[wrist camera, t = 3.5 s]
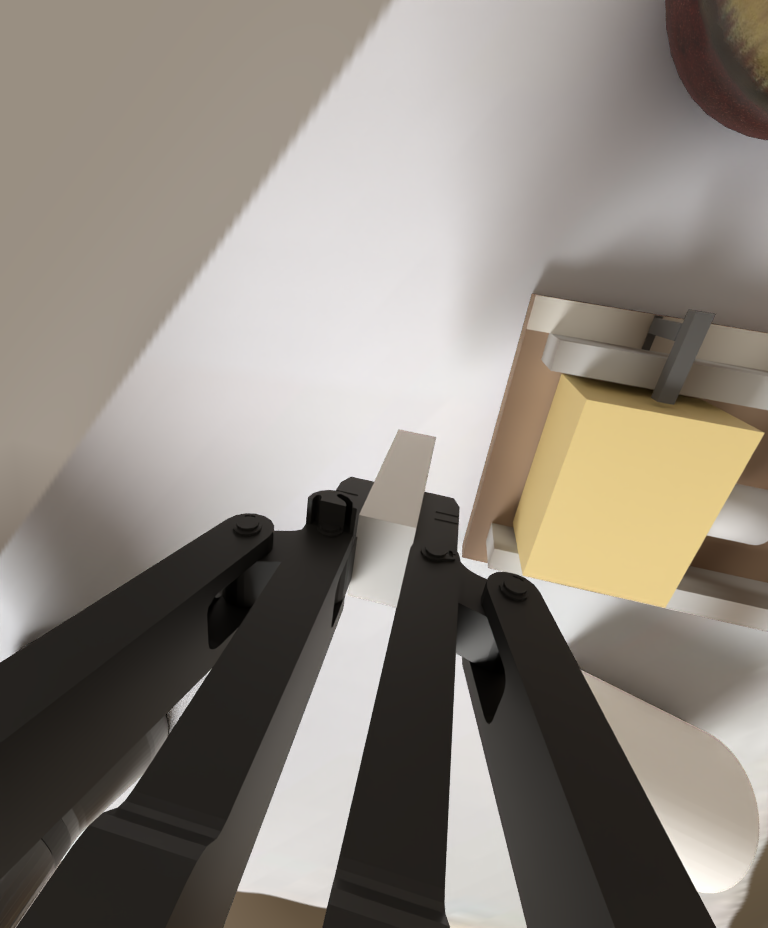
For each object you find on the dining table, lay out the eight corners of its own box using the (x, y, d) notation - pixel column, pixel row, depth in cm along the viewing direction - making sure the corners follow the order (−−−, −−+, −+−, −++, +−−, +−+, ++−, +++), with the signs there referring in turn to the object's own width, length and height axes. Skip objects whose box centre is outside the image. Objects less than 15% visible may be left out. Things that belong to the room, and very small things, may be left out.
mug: (571, 635, 27) (609, 768, 20) (709, 704, 27) (797, 860, 20) (473, 735, 32) (475, 869, 25) (590, 792, 32) (625, 940, 25)
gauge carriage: (512, 522, 23) (522, 575, 19) (587, 293, 18) (623, 298, 14) (690, 561, 22) (740, 625, 18) (820, 331, 17) (928, 348, 13)
